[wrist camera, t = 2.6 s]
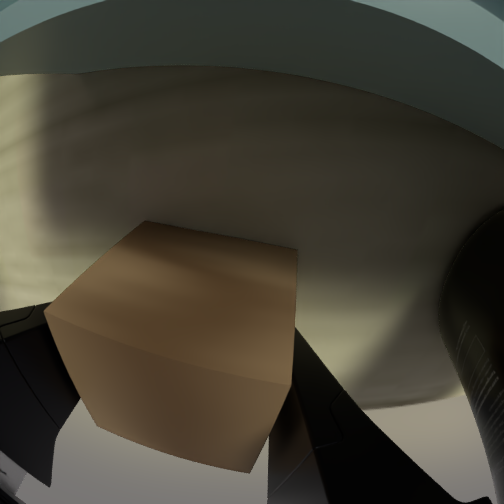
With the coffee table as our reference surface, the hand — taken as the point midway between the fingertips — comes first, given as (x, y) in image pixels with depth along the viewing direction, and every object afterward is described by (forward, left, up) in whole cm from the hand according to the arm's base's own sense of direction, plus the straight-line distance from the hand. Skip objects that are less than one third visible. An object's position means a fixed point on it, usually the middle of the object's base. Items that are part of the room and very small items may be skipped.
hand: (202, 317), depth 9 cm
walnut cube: (0, 0, -1) cm, 1 cm away
